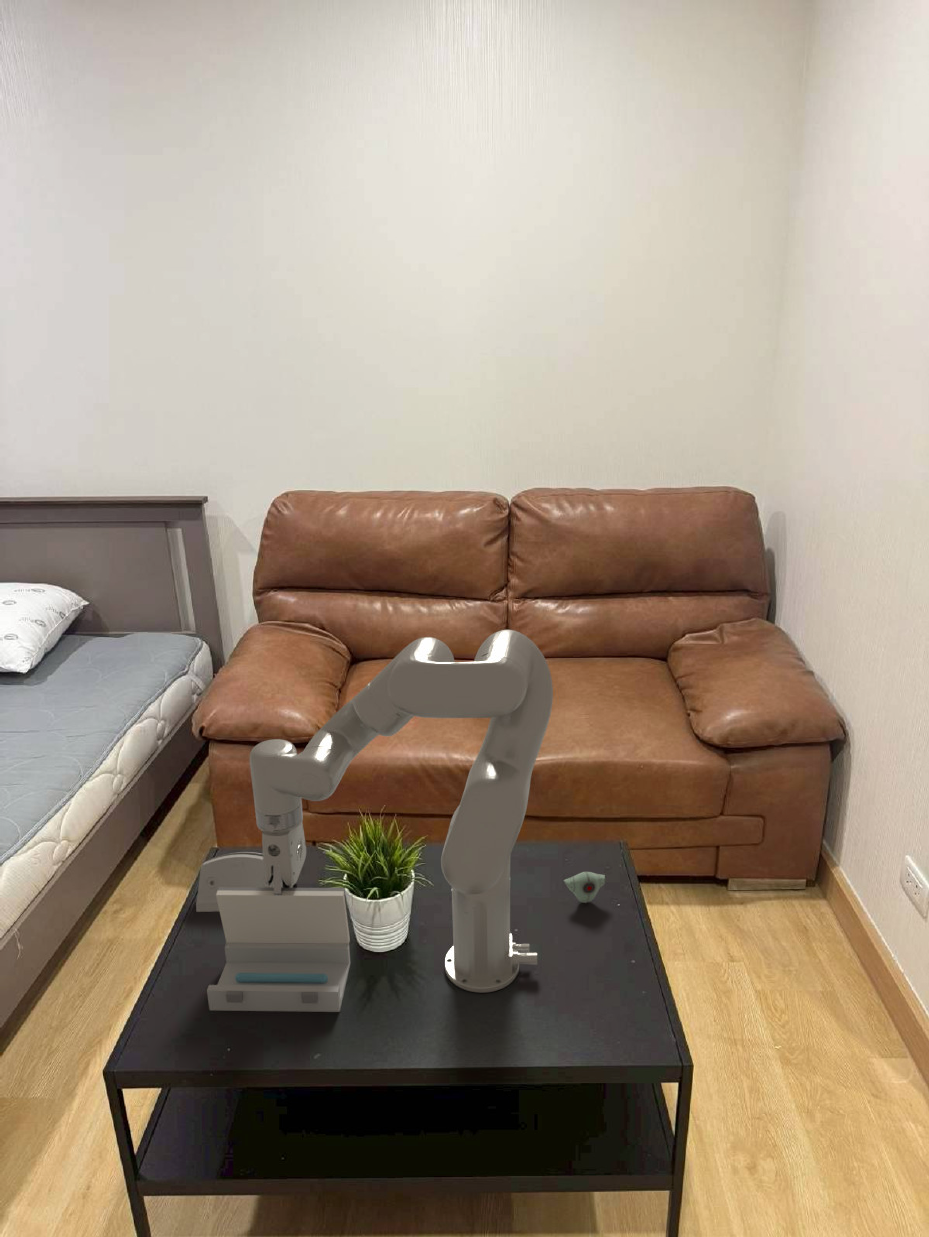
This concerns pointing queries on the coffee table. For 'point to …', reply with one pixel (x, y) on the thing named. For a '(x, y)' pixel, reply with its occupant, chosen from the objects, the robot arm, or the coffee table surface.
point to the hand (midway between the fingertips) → (288, 905)
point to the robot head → (585, 885)
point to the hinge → (229, 877)
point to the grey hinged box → (281, 994)
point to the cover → (283, 915)
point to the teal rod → (281, 977)
